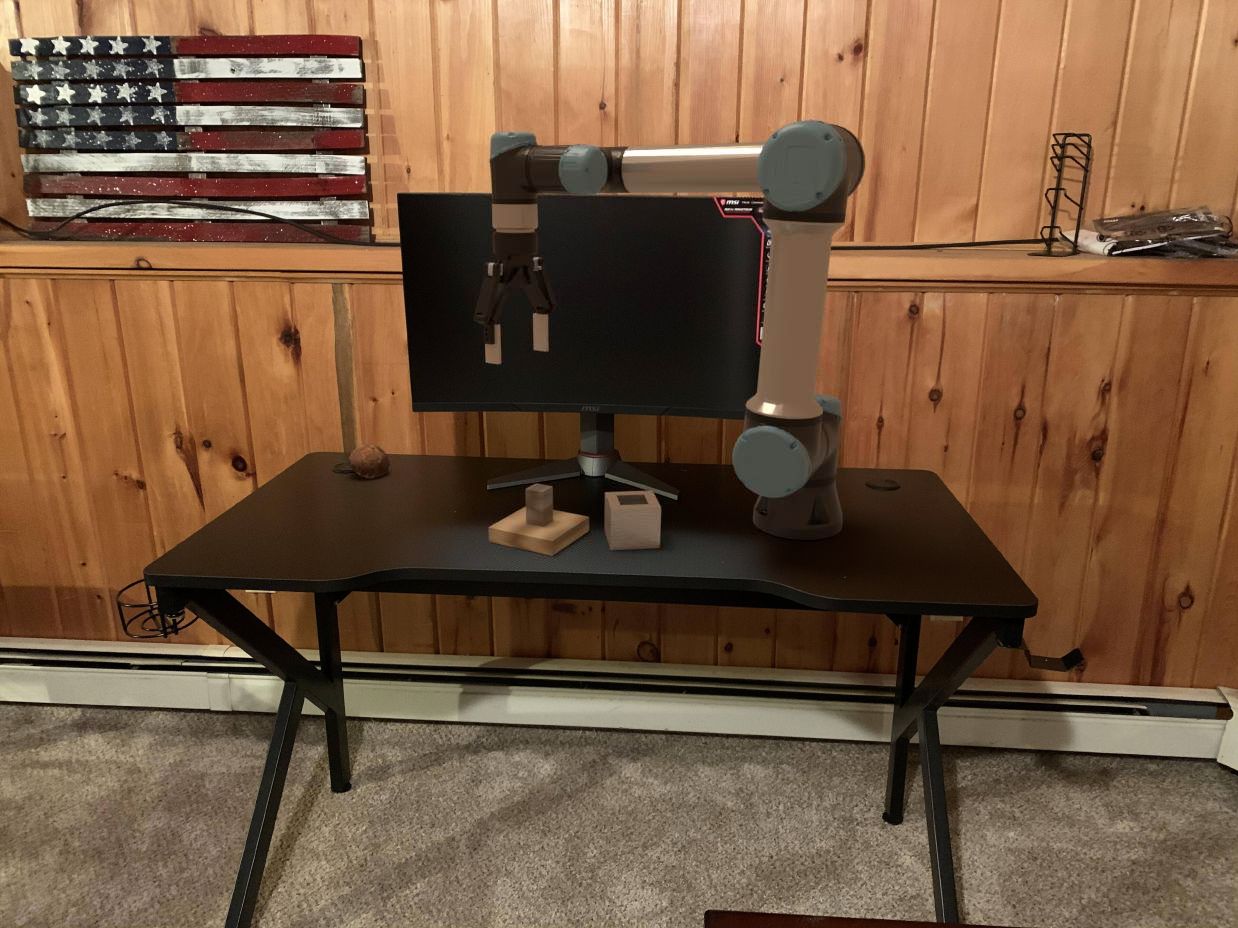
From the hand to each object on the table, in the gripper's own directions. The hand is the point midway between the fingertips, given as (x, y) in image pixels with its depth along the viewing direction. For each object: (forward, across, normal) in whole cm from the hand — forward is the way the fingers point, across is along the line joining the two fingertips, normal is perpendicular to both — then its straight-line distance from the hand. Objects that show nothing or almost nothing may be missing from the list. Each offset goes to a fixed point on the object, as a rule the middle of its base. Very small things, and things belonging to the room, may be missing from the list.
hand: (518, 356), depth 160 cm
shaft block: (+27, +12, +12) cm, 32 cm away
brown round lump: (+27, +4, -34) cm, 44 cm away
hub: (+27, +4, +26) cm, 38 cm away
